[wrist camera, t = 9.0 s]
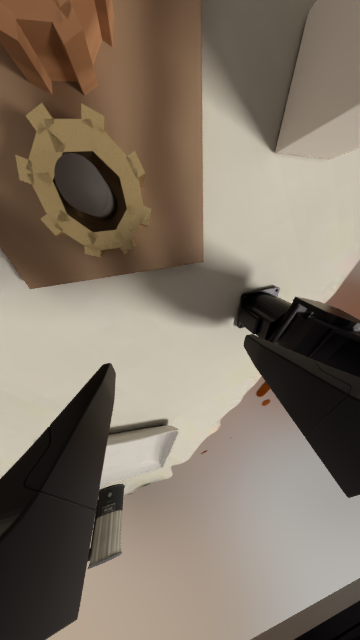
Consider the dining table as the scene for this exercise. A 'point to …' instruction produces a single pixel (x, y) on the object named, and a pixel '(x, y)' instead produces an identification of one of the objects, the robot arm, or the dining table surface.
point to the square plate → (137, 453)
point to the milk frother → (107, 526)
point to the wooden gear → (105, 155)
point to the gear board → (122, 121)
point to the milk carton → (325, 84)
